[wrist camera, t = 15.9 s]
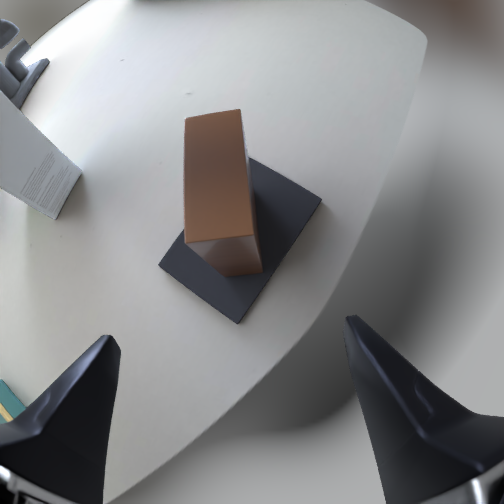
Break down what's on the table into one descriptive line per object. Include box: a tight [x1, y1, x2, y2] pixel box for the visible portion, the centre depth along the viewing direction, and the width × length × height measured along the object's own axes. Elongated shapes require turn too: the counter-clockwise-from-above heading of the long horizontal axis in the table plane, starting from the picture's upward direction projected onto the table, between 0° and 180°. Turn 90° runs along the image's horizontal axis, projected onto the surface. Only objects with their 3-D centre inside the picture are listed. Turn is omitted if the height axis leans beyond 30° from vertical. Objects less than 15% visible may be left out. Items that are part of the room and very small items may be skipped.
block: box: [184, 109, 263, 277], centre depth 18 cm, size 7×3×10 cm, turn 6°
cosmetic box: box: [0, 90, 82, 220], centre depth 18 cm, size 8×7×16 cm
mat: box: [158, 157, 322, 324], centre depth 23 cm, size 8×12×1 cm, turn 145°
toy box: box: [0, 379, 26, 424], centre depth 18 cm, size 9×5×4 cm, turn 66°
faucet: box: [0, 19, 50, 109], centre depth 23 cm, size 18×16×20 cm
